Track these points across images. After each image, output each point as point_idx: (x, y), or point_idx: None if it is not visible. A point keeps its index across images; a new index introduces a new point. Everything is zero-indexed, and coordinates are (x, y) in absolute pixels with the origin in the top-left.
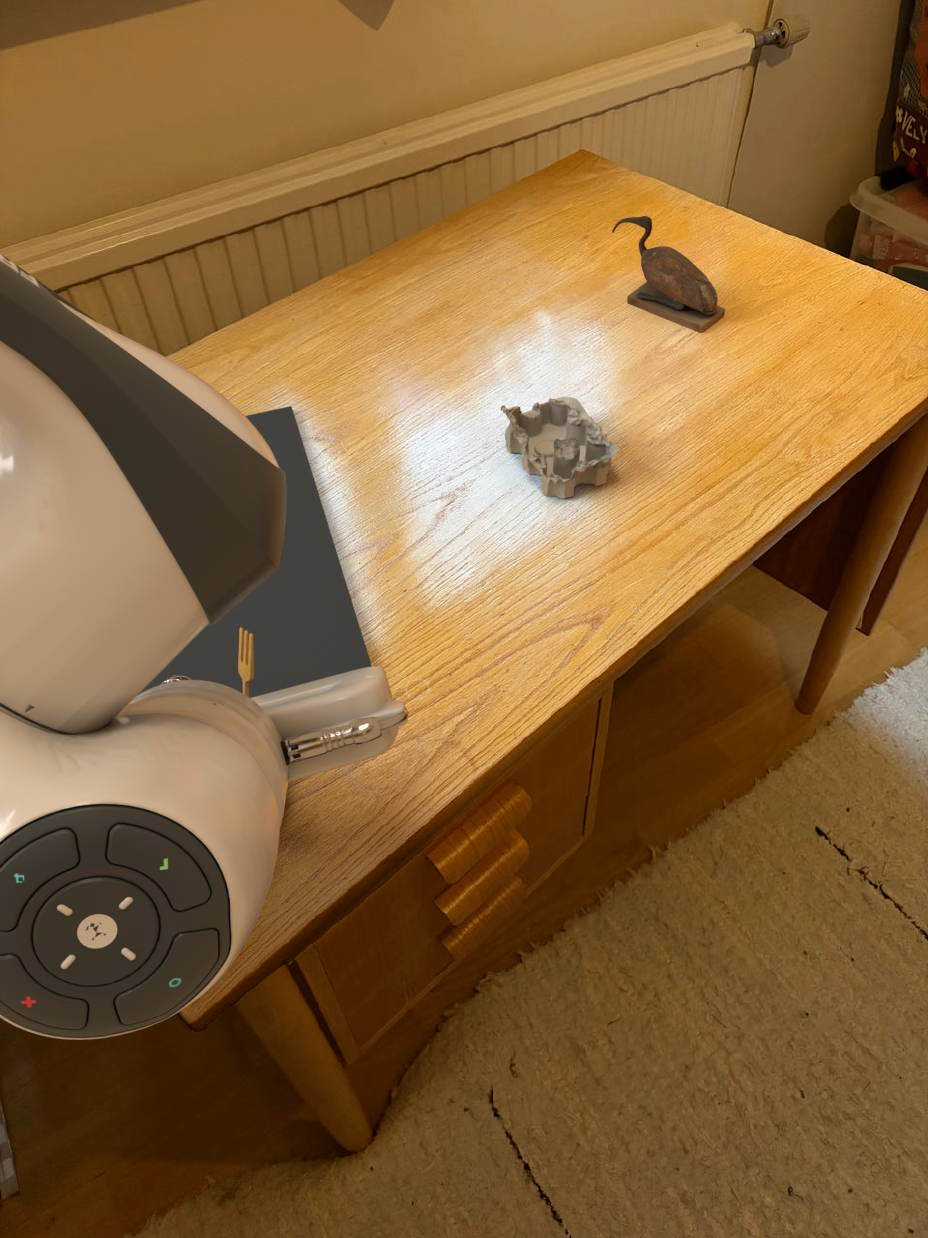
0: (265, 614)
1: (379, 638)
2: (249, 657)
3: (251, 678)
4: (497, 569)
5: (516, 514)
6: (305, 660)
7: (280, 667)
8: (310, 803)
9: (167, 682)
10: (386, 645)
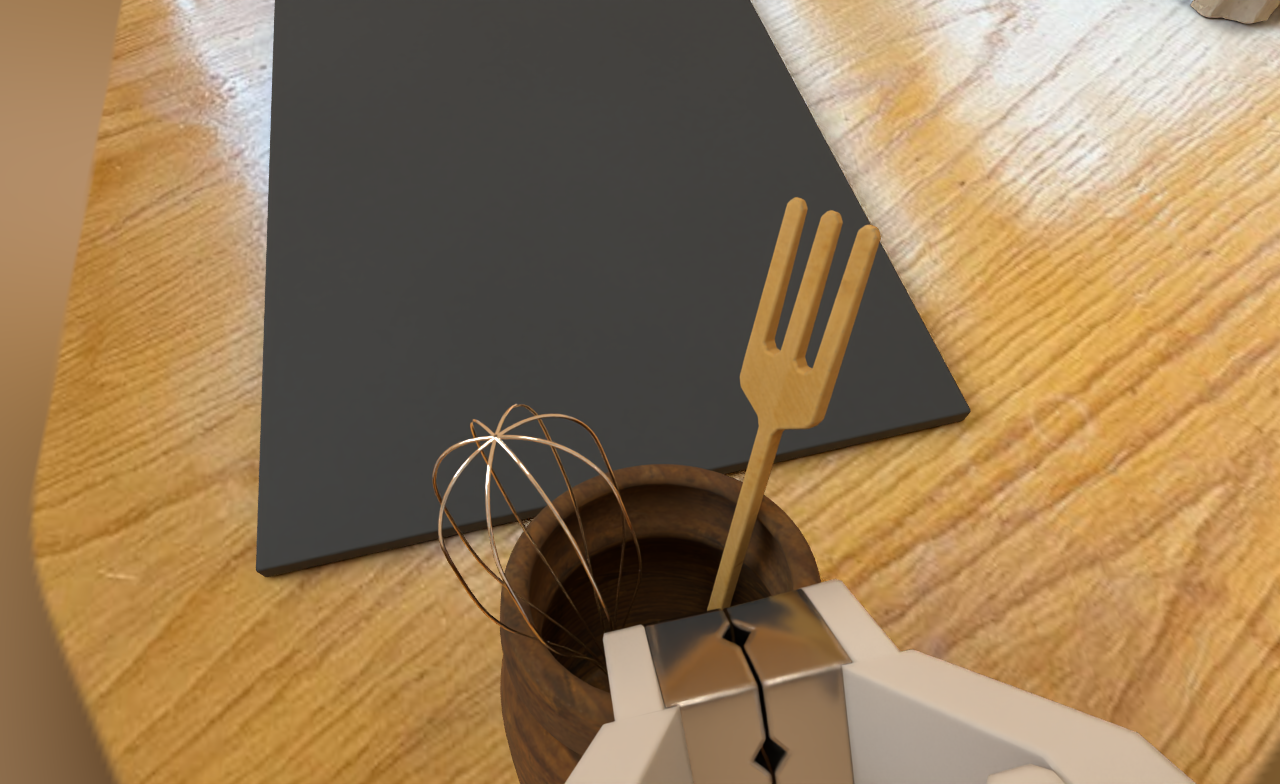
0: (660, 210)
1: (930, 286)
2: (832, 335)
3: (816, 422)
4: (1157, 153)
5: (1156, 47)
6: None
7: (712, 339)
8: None
9: (473, 431)
10: (951, 304)
